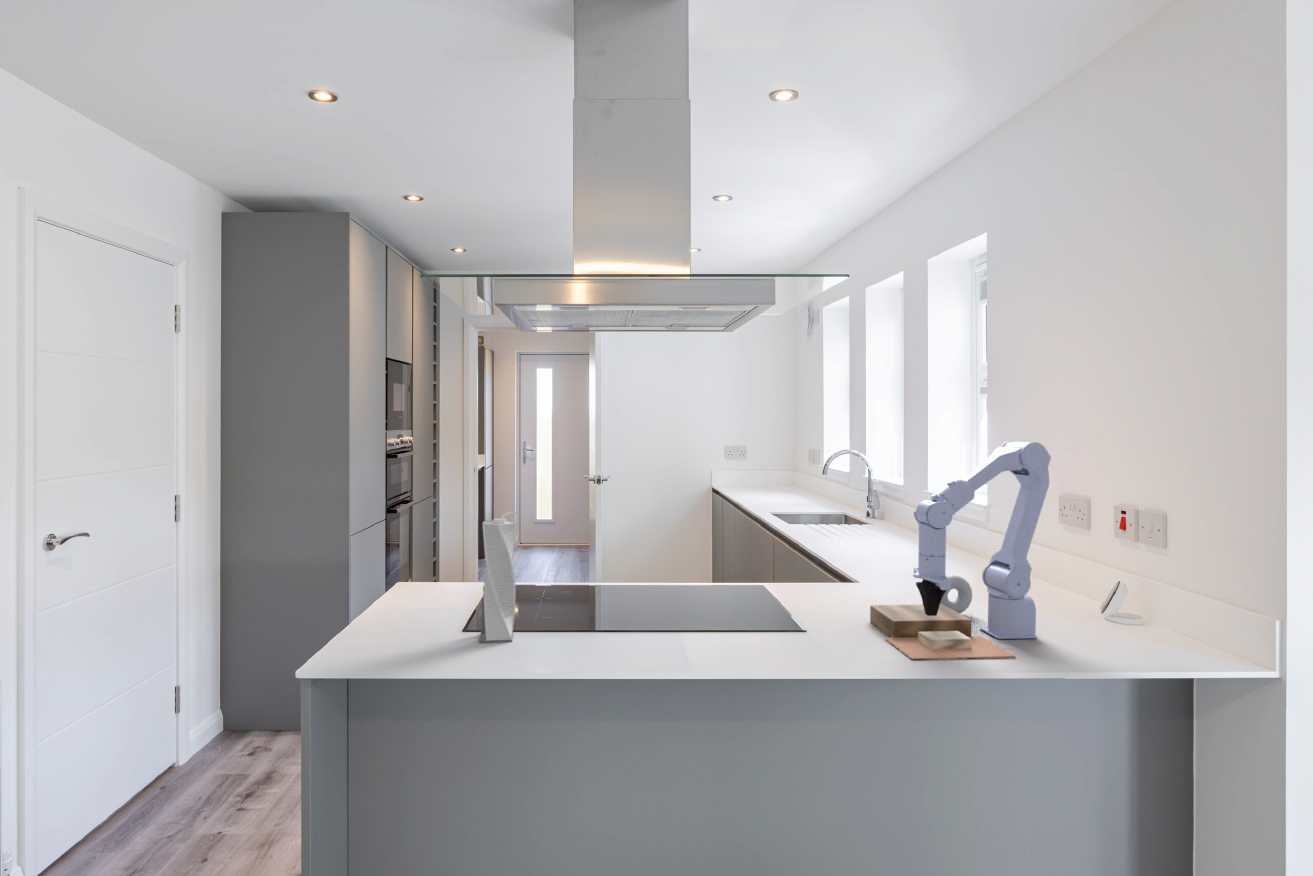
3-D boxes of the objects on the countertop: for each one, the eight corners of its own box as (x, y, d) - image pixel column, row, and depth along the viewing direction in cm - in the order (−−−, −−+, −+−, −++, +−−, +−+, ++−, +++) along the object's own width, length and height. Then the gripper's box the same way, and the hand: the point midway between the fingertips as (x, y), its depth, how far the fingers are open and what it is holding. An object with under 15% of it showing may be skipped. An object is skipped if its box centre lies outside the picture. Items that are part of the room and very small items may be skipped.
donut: (937, 617, 185) (938, 577, 185) (930, 613, 189) (930, 574, 188) (974, 616, 187) (975, 576, 186) (967, 612, 190) (967, 573, 190)
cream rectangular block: (971, 639, 159) (971, 648, 159) (957, 631, 165) (957, 640, 165) (930, 639, 158) (930, 649, 158) (918, 631, 164) (918, 640, 164)
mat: (980, 637, 168) (980, 636, 168) (1015, 657, 154) (1015, 656, 154) (885, 639, 166) (885, 637, 166) (911, 660, 152) (911, 658, 152)
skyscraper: (519, 632, 170) (519, 509, 170) (518, 643, 162) (518, 513, 162) (480, 633, 169) (480, 509, 168) (478, 644, 161) (478, 514, 160)
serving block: (942, 620, 182) (942, 604, 182) (971, 637, 168) (971, 619, 168) (870, 621, 181) (870, 605, 181) (893, 639, 167) (893, 621, 167)
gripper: (901, 549, 175) (900, 607, 175) (929, 561, 160) (927, 624, 161) (930, 548, 175) (929, 606, 176) (960, 560, 161) (959, 623, 161)
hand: (931, 615), depth 168 cm, fingers closed
